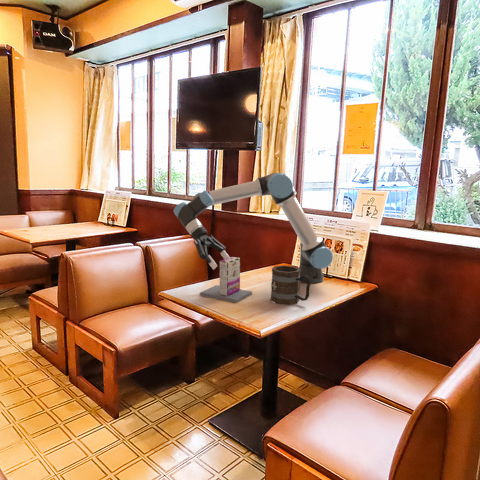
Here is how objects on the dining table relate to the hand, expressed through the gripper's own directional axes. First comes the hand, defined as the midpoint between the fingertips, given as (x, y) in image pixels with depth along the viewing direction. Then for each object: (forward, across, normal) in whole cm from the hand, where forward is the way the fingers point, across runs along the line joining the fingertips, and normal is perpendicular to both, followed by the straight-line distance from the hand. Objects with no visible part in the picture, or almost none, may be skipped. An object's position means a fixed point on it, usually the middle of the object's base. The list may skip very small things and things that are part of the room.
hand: (223, 264), depth 192 cm
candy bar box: (+12, 0, -7) cm, 14 cm away
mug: (+33, -8, +12) cm, 36 cm away
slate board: (+12, -1, -9) cm, 15 cm away
